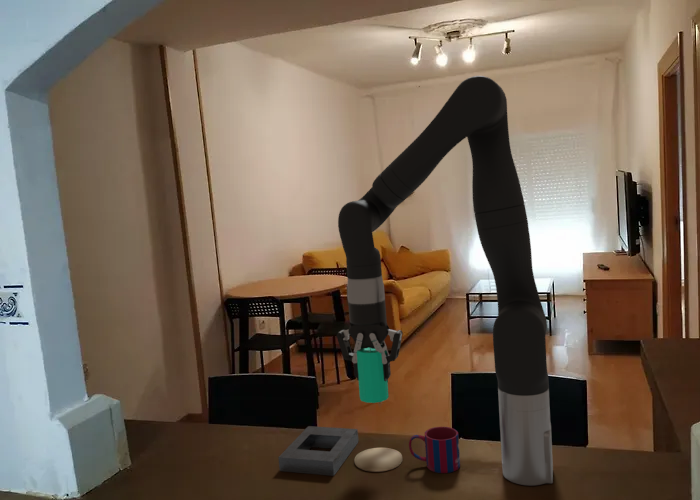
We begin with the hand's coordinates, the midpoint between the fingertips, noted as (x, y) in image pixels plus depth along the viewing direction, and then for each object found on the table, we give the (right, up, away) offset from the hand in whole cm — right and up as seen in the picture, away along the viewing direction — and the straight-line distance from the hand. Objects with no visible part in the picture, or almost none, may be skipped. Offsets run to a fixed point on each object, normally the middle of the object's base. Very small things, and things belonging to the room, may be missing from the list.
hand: (372, 379), depth 125 cm
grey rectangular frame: (-11, -18, +6) cm, 22 cm away
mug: (+13, -17, -2) cm, 21 cm away
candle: (0, -4, 0) cm, 4 cm away
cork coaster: (+1, -17, +2) cm, 17 cm away
